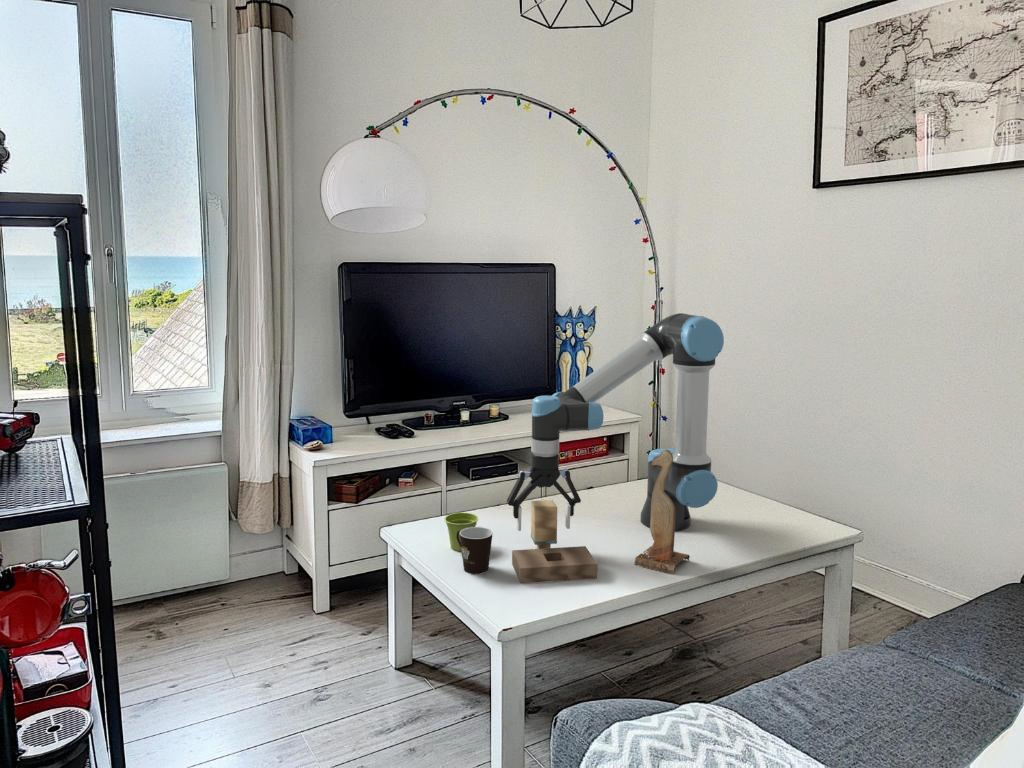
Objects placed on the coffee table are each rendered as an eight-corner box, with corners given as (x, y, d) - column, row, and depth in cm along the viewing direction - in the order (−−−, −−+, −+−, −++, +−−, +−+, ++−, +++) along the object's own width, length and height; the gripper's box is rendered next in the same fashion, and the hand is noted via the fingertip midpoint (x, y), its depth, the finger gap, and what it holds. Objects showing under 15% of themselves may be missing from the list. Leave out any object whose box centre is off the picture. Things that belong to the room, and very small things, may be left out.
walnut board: (585, 560, 212) (585, 546, 211) (597, 578, 200) (597, 563, 200) (512, 564, 209) (512, 550, 208) (520, 583, 197) (520, 568, 196)
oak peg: (551, 547, 221) (552, 499, 218) (556, 556, 215) (557, 507, 212) (530, 549, 220) (531, 501, 217) (534, 557, 214) (535, 508, 211)
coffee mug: (496, 573, 203) (496, 537, 201) (463, 577, 200) (463, 540, 199) (484, 556, 214) (485, 521, 212) (453, 560, 211) (453, 524, 210)
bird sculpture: (649, 553, 218) (649, 441, 213) (690, 560, 212) (691, 445, 207) (634, 567, 209) (634, 450, 203) (676, 575, 203) (677, 455, 197)
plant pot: (474, 555, 215) (474, 524, 213) (440, 552, 217) (440, 522, 215) (481, 542, 224) (481, 513, 222) (449, 540, 226) (449, 511, 224)
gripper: (586, 448, 218) (583, 521, 222) (497, 450, 214) (496, 525, 217) (593, 455, 211) (590, 530, 214) (501, 458, 206) (500, 535, 210)
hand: (543, 528), depth 216 cm, fingers open, 13 cm apart
